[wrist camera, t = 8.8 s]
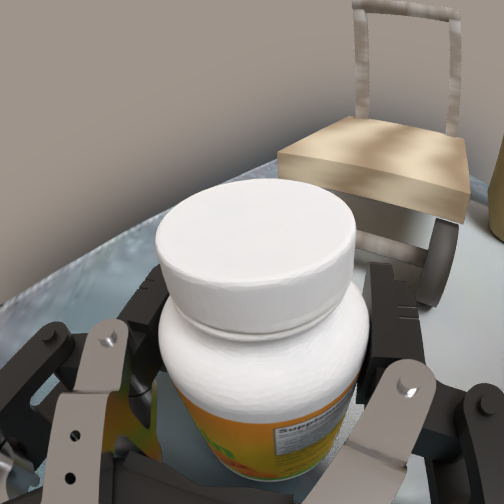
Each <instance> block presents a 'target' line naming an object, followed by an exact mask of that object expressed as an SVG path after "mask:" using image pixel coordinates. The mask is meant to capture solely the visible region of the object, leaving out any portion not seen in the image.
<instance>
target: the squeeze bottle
mask: <svg viewBox="0 0 504 504" xmlns="http://www.w3.org/2000/svg"><path fill="white" fill-rule="evenodd" d="M488 211H489V228H490V230H491V231H492V232H493V234H494V235H495V236H497V237H498V238H499V239H500V240H502V241H503V242H504V136H503V140H502V144H501V148H500V152H499V155H498V159H497V162H496V166H495V169H494V172H493V176H492V179H491V182H490V185H489V188H488Z"/></svg>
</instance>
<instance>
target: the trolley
mask: <svg viewBox="0 0 504 504" xmlns="http://www.w3.org/2000/svg"><path fill="white" fill-rule="evenodd" d="M352 8H353V19H354V34H355V35H354V36H355V61H356V62H355V64H356V117H352V116H349V117H347V118H345V119H342V120H340V121H338V122H336V123H334V124H332V125H330V126H328V127H326V128H324V129H322V130H320V131H318V132H316V133H314V134H312V135H310V136H308V137H306V138H304V139H302V140H300V141H298V142H296V143H294V144H292V145H290V146H289V147H286V148H284V149H282V150H281V151H279V152H277V156H278V178H279V179H286V180H292V181H298V182H304V183H308V184H312V185H315V186H318V187H322V188H327V189H331V190H336V191H340V192H345V193H349V194H353V195H358V196H362V197H366V198H370V199H374V200H378V201H382V202H386V203H390V204H394V205H398V206H401V207H405V208H409V209H412V210H416V211H420V212H423V213H427V214H430V215H434V216H437V217H441V218H444V219H447V220H451V221H454V222H457V223H460V224H463V223H464V219H465V215H466V211H467V207H468V203H469V199H470V195H471V193H470V182H469V173H468V164H467V156H466V149H465V142H464V139H461V138H457V137H456V136H457V126H458V116H459V105H460V89H461V23H460V11H459V10H457V9H451V8H446V7H440V6H434V5H427V4H419V3H410V2H401V1H388V0H352ZM367 13H379V14H394V15H404V16H412V17H420V18H427V19H434V20H440V21H445V22H449V33H450V82H449V102H448V114H447V125H446V134H442V133H438V132H434V131H429V130H425V129H420V128H415V127H411V126H406V125H401V124H396V123H390V122H384V121H379V120H373V119H368V118H369V40H368V21H367ZM458 231H459V225H458V224H455V223H452V222H449V221H445V220H442V219H439V218H436V220H435V224H434V228H433V232H432V236H431V240H430V244H429V248H428V250H425V249H422V248H419V247H415V246H412V245H409V244H405V243H402V242H399V241H395V240H392V239H388V238H385V237H381V236H378V235H374V234H371V233H367V232H364V231H360V230H357V229H356V242H355V247H356V248H359V249H363V250H366V251H370V252H373V253H376V254H379V255H383V256H386V257H389V258H393V259H396V260H399V261H402V262H406V263H409V264H412V265H415V266H418V267H422V268H423V270H422V273H421V277H420V280H419V283H418V287H417V290H416V294H415V298H416V301H417V302H420V303H423V304H426V305H429V306H432V307H436V306H437V305H438V303H439V301H440V299H441V296H442V294H443V291H444V289H445V286H446V283H447V280H448V277H449V273H450V270H451V266H452V263H453V259H454V254H455V250H456V245H457V239H458Z"/></svg>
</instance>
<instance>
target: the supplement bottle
mask: <svg viewBox="0 0 504 504" xmlns="http://www.w3.org/2000/svg"><path fill="white" fill-rule="evenodd" d="M355 242H356V222H355V219H354V216H353V213H352V211H351V210H350V208H349V207H348V206H347V205H346V203H345V202H344V201H342V200H341V199H340V198H339V197H337V196H336V195H334V194H333V193H331V192H329V191H327V190H325V189H323V188H321V187H318V186H315V185H312V184H308V183H304V182H298V181H292V180H286V179H252V180H244V181H236V182H232V183H227V184H222V185H218V186H215V187H212V188H209V189H206V190H203V191H201V192H199V193H197V194H195V195H193V196H191V197H189V198H187V199H186V200H184V201H182V202H181V203H179V204H178V205H176V206H175V207H174V208H173V209H172V210H171V211H169V212H168V213H167V214H166V215H165V217H164V218H163V220H162V221H161V223H160V225H159V227H158V229H157V232H156V238H155V244H156V251H157V255H158V259H159V262H160V266H161V270H162V274H163V277H164V280H165V282H166V285H167V289H168V291H169V293H170V296H169V297H168V299H167V301H166V303H165V305H164V308H163V310H162V314H161V317H160V322H159V331H158V337H159V347H160V352H161V356H162V359H163V362H164V364H165V367H166V369H167V372H168V374H169V376H170V379H171V380H172V382H173V384H174V386H175V388H176V389H177V391H178V393H179V395H180V397H181V399H182V400H183V402H184V404H185V406H186V408H187V409H188V411H189V413H190V415H191V417H192V418H193V420H194V422H195V424H196V425H197V427H198V428H199V430H200V432H201V433H202V435H203V437H204V438H205V440H206V441H207V443H208V445H209V446H210V448H211V449H212V451H213V453H214V454H215V455H216V456H217V458H218V459H219V460H220V461H221V462H222V463H223V464H224V465H225V466H226V467H227V468H228V469H230V470H231V471H233V472H234V473H236V474H238V475H240V476H243V477H245V478H248V479H252V480H256V481H262V482H277V481H284V480H288V479H292V478H295V477H297V476H300V475H302V474H304V473H306V472H308V471H309V470H311V469H312V468H314V467H315V466H316V465H318V464H319V463H320V462H321V461H322V460H323V459H324V457H325V456H326V455H327V453H328V452H329V450H330V449H331V447H332V445H333V444H334V441H335V439H336V437H337V435H338V432H339V430H340V427H341V425H342V422H343V419H344V417H345V414H346V412H347V409H348V406H349V403H350V401H351V398H352V395H353V392H354V389H355V387H356V384H357V381H358V378H359V375H360V372H361V369H362V366H363V362H364V359H365V356H366V352H367V346H368V342H369V332H370V323H369V315H368V309H367V307H366V304H365V301H364V299H363V296H362V294H361V292H360V291H359V289H358V288H357V286H356V285H355V283H354V282H353V281H352V276H353V271H354V253H355Z"/></svg>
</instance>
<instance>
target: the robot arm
mask: <svg viewBox="0 0 504 504" xmlns="http://www.w3.org/2000/svg"><path fill="white" fill-rule="evenodd" d="M169 296H170V293H169V291H168V289H167V285H166V282H165V280H164V277H163V274H162V270H161V266H160V264H159V265H157V266H156V267H154V268H153V269H152V271H151V272H150V273H149V275H148V276H147V277H146V279H145V281H143V283H142V284H141V285H140V287H139V289H137V291H136V292H135V293H134V295H133V296H132V298H131V299H130V300H129V302H128V303H127V305H126V306H125V307H124V309H123V310H122V312H121V313H120V314H119V316H118V317H117V319H108V320H104V321H102V322H100V323H98V324H97V325H95V326H94V327H93V328H92V329H91V330H90V332H89V333H81V334H71V333H70V331H69V330H68V328H67V327H66V325H65V324H64V323H62V322H51V323H49V324H47V325H45V326H43V327H42V328H41V329H40V330H39V331H38V332H37V333H36V334H35V335H34V336H33V337H32V338H31V339H30V340H29V341H28V342H27V343H26V344H25V345H24V346H23V347H22V348H21V349H20V350H19V351H18V352H17V353H16V354H15V355H14V356H13V357H12V358H11V359H10V360H9V361H8V362H7V364H6V365H5V366H4V367H3V368H2V369H1V370H0V504H300V503H297V502H295V501H292V499H293V495H291V494H284V493H278V492H272V491H266V490H260V489H255V488H250V487H206V486H201V485H198V484H196V483H194V482H193V481H191V480H189V479H188V478H186V477H185V476H183V475H181V474H180V473H178V472H177V471H175V470H173V469H172V468H170V467H169V466H167V465H166V464H164V463H162V452H161V447H160V444H159V442H158V439H157V434H156V413H157V380H156V378H155V377H156V375H157V373H158V371H163V372H167V369H166V367H165V364H164V362H163V359H162V356H161V352H160V347H159V337H158V331H159V322H160V317H161V314H162V310H163V308H164V305H165V303H166V301H167V299H168V297H169ZM362 296H363V299H364V301H365V304H366V307H367V309H368V315H369V323H370V332H369V342H368V346H367V352H366V356H365V359H364V362H363V366H362V369H361V372H360V375H359V378H358V381H357V393H356V404H365V406H364V412H363V413H362V415H361V417H360V419H359V420H358V422H357V424H356V426H355V427H354V429H353V431H352V432H351V434H350V436H349V437H348V439H347V440H346V441H345V443H344V444H343V445H342V447H341V448H340V450H339V451H338V453H337V454H336V456H335V457H334V459H333V460H332V462H331V463H330V465H329V466H328V468H327V469H326V471H325V472H324V474H323V475H322V477H321V478H320V479H319V481H318V482H317V484H316V485H315V486H314V488H313V489H312V490H311V492H310V493H309V495H308V496H307V497H306V499H305V500H304V501H303V502H302V504H391V502H392V501H393V499H394V497H395V495H396V493H397V492H398V490H399V488H400V486H401V484H402V482H403V480H404V477H405V475H406V472H407V466H406V464H407V461H408V458H409V456H410V454H411V453H412V454H415V455H418V456H422V457H424V461H425V466H426V472H427V478H428V485H429V492H430V499H431V504H504V393H503V392H502V391H501V390H500V389H499V388H498V387H496V386H494V385H492V384H488V383H481V384H477V385H475V386H473V387H472V388H471V389H470V390H469V391H468V392H465V391H462V390H459V389H456V388H453V387H449V386H447V385H444V384H442V383H440V382H439V381H438V380H436V379H435V377H434V374H433V373H432V371H431V370H430V369H429V368H428V367H427V366H426V363H425V357H424V349H423V341H422V334H421V328H420V321H419V315H418V309H417V304H416V298H415V293H414V292H413V290H412V289H411V287H410V286H409V285H408V283H407V282H406V281H397V280H394V275H393V269H392V264H390V263H377V262H368V265H367V270H366V276H365V282H364V288H363V293H362ZM53 373H54V374H55V376H56V377H57V378H58V379H59V380H60V382H59V383H58V384H57V385H56V386H55V387H54V388H53V390H52V391H51V392H50V393H49V394H48V395H47V396H46V397H45V399H44V400H43V401H42V402H41V403H40V404H39V405H37V406H32V405H30V399H31V397H32V396H33V395H34V393H35V392H36V391H37V390H38V389H39V388H40V387H41V386H42V385H43V383H44V382H45V381H46V380H47V379H48V378H49V377H50V376H51V375H52V374H53ZM167 373H168V372H167ZM46 457H47V460H46V467H45V475H44V484H43V486H42V487H40V488H37V489H35V490H33V491H30V492H28V489H29V486H32V487H37V486H38V485H39V483H40V478H39V476H38V474H36V473H35V471H36V470H37V468H38V467H39V466H40V465H41V463H42V462H43V461H44V460H45V458H46Z"/></svg>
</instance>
